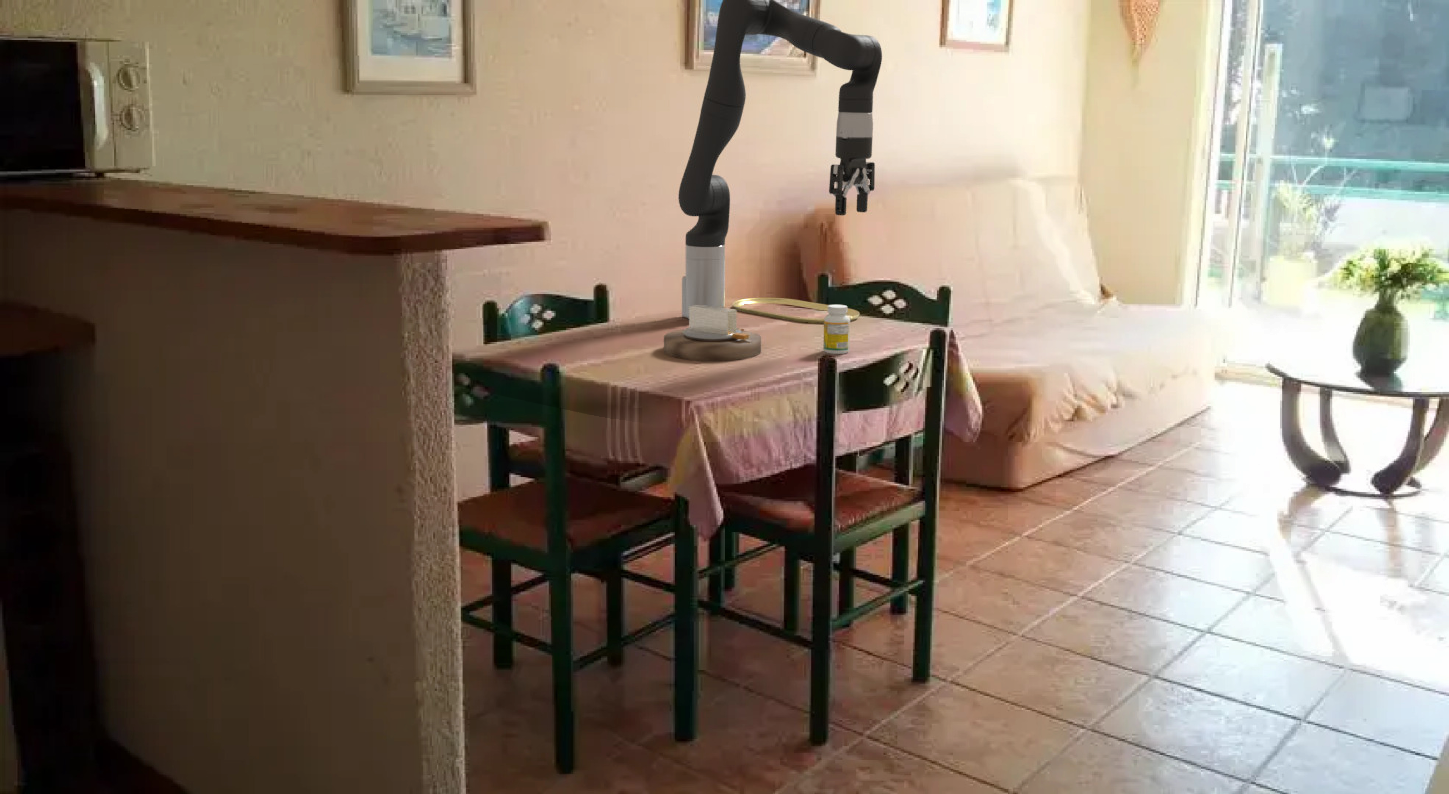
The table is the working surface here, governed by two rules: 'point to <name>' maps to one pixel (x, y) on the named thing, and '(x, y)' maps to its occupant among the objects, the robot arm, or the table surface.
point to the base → (711, 347)
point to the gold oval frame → (790, 302)
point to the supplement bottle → (836, 330)
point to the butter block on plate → (712, 324)
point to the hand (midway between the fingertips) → (851, 213)
